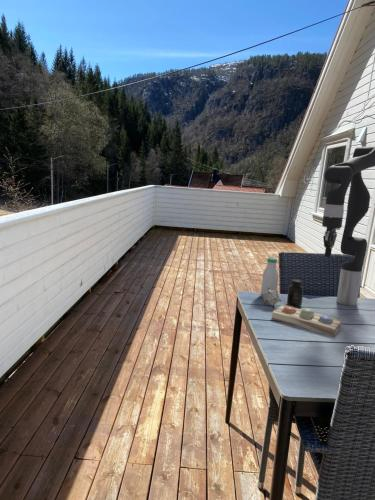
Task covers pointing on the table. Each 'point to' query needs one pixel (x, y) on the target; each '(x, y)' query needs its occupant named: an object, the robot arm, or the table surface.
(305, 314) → the sage button
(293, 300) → the supplement bottle
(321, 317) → the slate button
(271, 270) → the milk bottle
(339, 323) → the button panel
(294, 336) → the table surface
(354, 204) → the robot arm
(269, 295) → the game die
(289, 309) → the terracotta button
